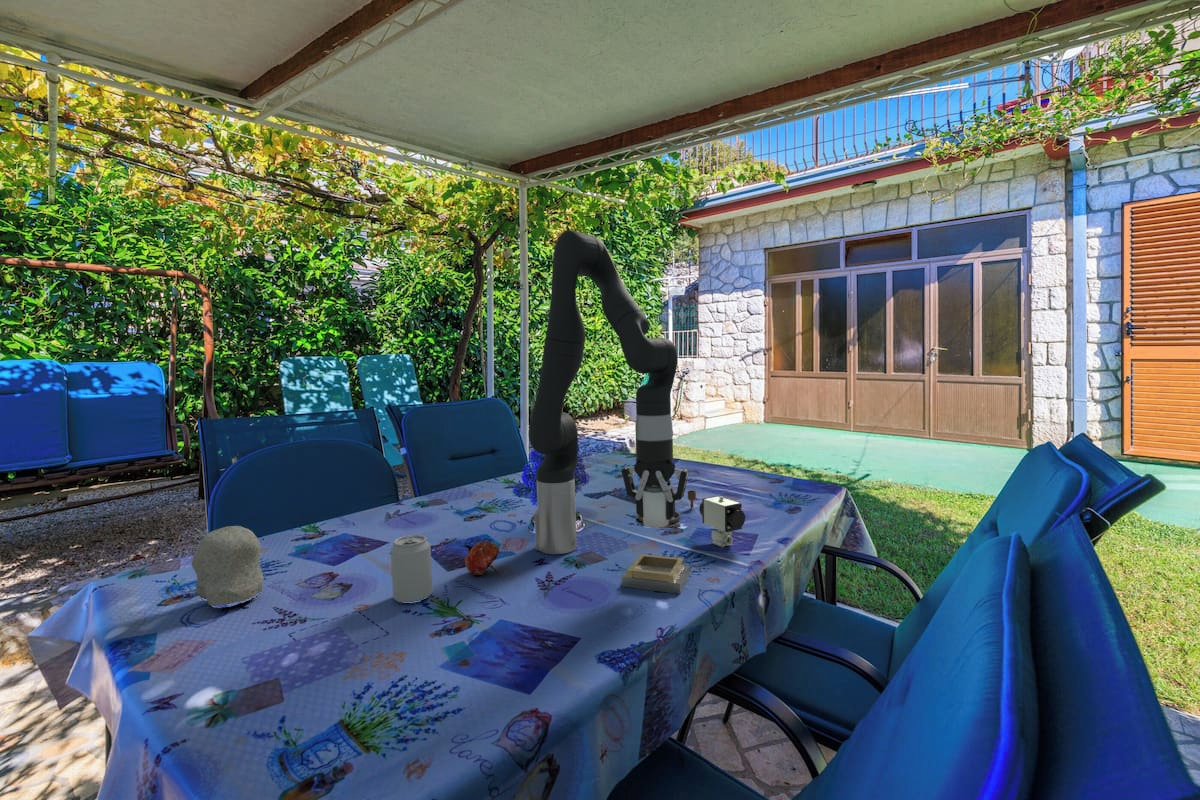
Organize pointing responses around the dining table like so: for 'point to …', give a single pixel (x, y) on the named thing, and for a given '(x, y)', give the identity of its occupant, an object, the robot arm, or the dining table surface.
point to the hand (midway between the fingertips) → (655, 517)
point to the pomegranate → (481, 557)
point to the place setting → (691, 497)
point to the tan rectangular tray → (657, 574)
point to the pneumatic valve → (722, 518)
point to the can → (411, 568)
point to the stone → (228, 566)
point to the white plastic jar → (654, 507)
